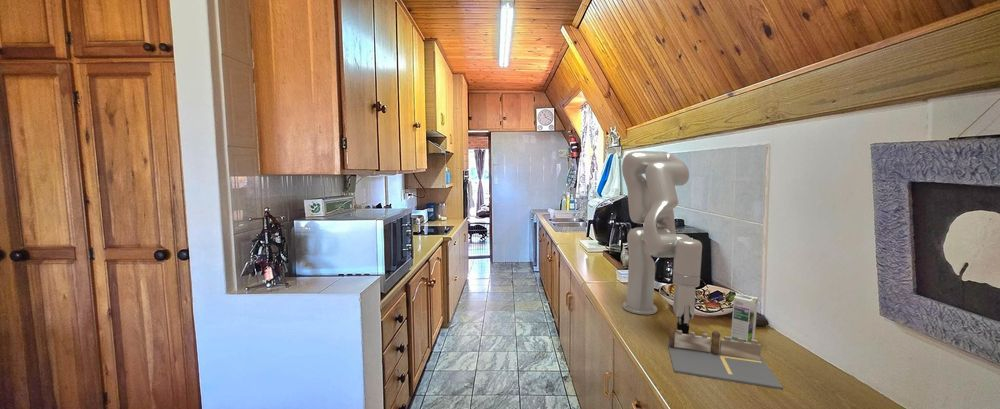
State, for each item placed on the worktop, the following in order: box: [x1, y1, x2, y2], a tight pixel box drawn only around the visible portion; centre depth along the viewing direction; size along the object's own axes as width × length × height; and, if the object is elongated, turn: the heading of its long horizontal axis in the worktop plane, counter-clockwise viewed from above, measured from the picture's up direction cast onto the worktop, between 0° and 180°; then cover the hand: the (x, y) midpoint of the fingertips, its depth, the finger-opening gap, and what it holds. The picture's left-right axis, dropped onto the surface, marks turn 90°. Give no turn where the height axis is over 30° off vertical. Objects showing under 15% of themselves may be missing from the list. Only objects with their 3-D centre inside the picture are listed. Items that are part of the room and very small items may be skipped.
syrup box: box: [729, 293, 759, 343], centre depth 123 cm, size 6×6×14 cm
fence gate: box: [668, 328, 712, 352], centre depth 116 cm, size 11×2×5 cm, turn 73°
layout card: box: [666, 340, 784, 390], centre depth 110 cm, size 18×25×1 cm
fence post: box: [710, 330, 762, 361], centre depth 113 cm, size 2×12×7 cm, turn 73°
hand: (682, 335), depth 122 cm, fingers closed
